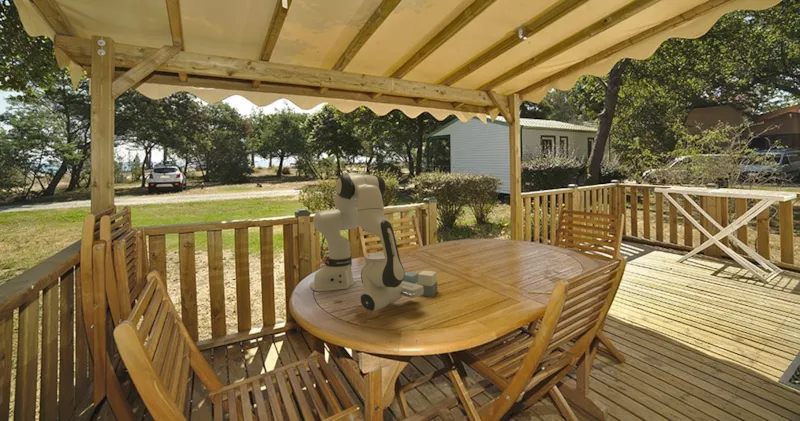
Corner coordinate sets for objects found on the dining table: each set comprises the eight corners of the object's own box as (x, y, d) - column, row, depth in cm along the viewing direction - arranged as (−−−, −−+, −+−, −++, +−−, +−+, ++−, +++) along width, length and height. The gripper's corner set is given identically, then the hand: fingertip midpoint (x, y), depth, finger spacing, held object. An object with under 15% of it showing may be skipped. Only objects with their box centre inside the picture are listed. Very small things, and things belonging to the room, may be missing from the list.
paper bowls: (361, 266, 220) (361, 253, 219) (385, 263, 226) (385, 251, 225) (370, 273, 206) (370, 259, 205) (395, 269, 213) (395, 256, 212)
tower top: (431, 286, 169) (431, 276, 168) (417, 284, 172) (417, 274, 171) (436, 282, 175) (436, 271, 175) (423, 280, 178) (423, 270, 177)
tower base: (432, 297, 169) (432, 287, 168) (416, 295, 172) (416, 285, 171) (437, 291, 176) (437, 281, 176) (421, 289, 179) (421, 280, 178)
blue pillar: (411, 296, 159) (411, 276, 158) (402, 294, 162) (402, 274, 161) (418, 293, 163) (418, 273, 162) (408, 290, 166) (408, 271, 165)
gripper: (412, 288, 145) (431, 279, 156) (373, 278, 157) (393, 271, 168) (412, 304, 146) (431, 294, 157) (374, 292, 158) (393, 284, 169)
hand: (411, 282), depth 163 cm, fingers closed on blue pillar, 5 cm apart
